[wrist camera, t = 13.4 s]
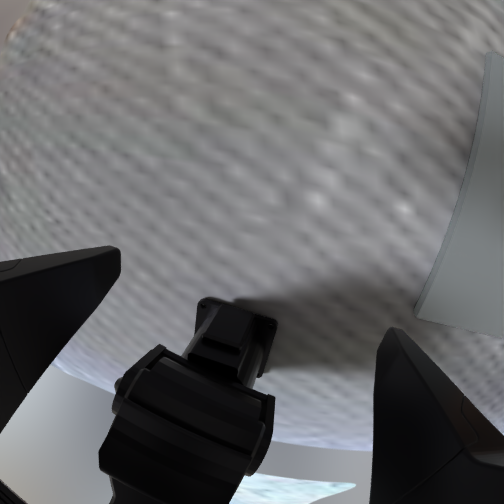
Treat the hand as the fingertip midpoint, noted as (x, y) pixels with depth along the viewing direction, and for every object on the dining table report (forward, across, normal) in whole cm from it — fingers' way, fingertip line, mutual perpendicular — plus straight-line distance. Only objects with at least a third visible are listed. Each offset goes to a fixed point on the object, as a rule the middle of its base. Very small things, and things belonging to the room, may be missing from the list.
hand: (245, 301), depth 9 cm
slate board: (+12, -19, -5) cm, 23 cm away
